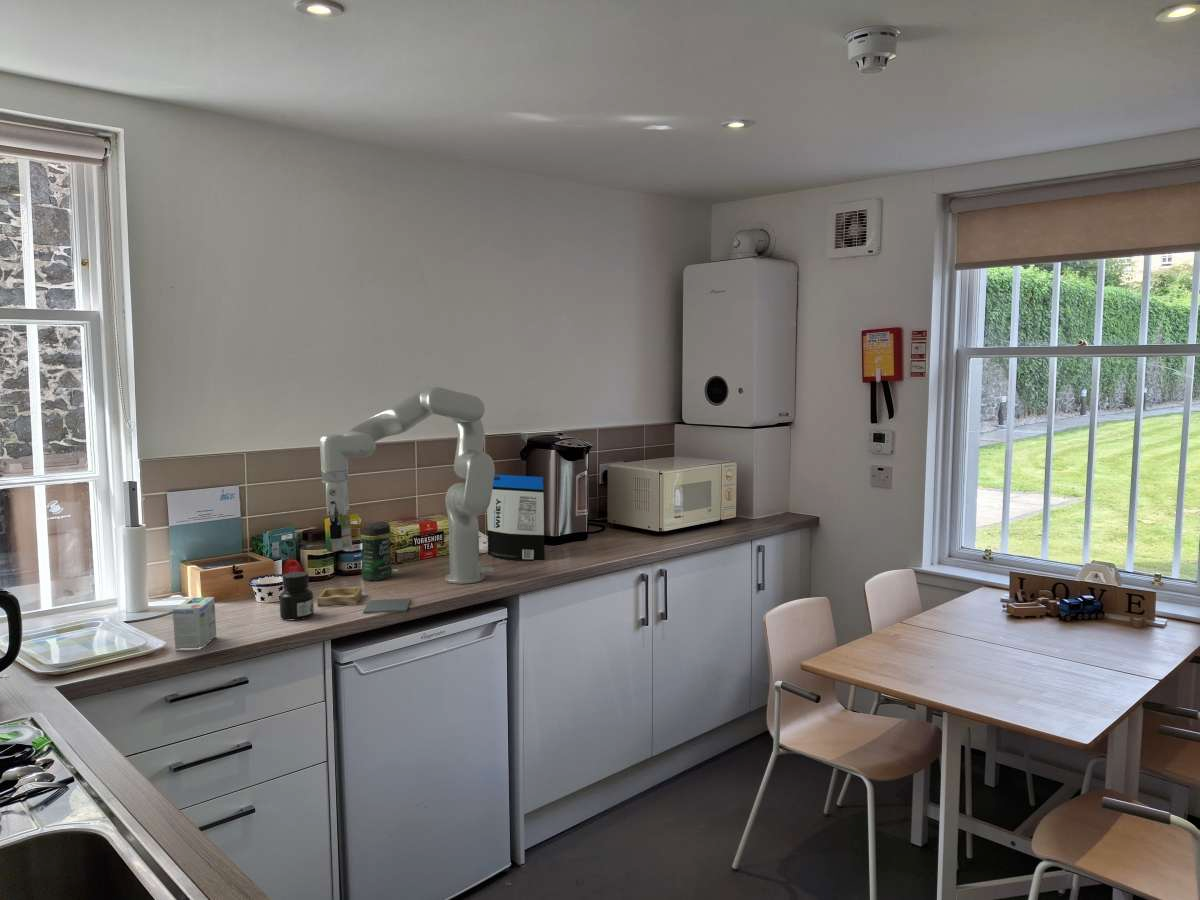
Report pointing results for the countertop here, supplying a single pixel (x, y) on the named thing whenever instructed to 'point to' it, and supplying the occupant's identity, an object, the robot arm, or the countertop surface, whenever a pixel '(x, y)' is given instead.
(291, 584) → the ink bottle
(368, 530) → the coffee jar
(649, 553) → the countertop surface
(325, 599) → the tray
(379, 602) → the mat
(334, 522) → the robot arm
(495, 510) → the protein powder
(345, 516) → the crayon box
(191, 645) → the light bulb box
